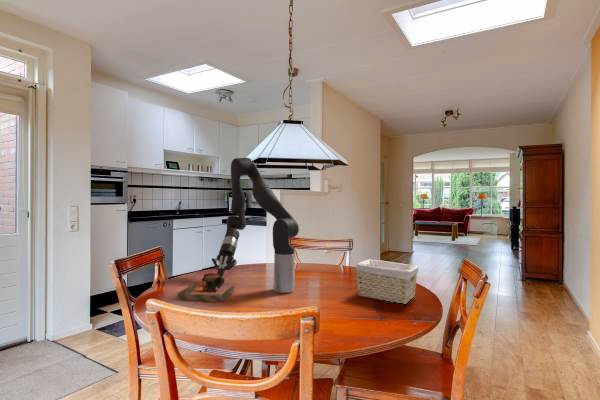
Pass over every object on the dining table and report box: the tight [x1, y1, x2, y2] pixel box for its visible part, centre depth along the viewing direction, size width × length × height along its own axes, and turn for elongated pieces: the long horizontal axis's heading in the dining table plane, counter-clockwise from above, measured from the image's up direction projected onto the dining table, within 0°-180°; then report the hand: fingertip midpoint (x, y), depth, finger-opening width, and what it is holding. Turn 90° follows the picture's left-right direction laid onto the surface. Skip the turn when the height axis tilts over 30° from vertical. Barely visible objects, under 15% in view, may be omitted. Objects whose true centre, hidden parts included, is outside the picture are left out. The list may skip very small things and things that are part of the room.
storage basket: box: [355, 259, 419, 305], centre depth 151 cm, size 24×16×15 cm
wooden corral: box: [177, 283, 235, 303], centre depth 147 cm, size 19×16×2 cm
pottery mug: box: [201, 272, 225, 292], centre depth 158 cm, size 12×10×8 cm
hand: (219, 276), depth 162 cm, fingers closed
